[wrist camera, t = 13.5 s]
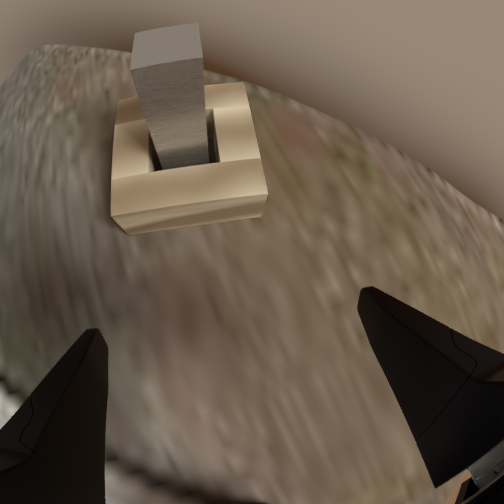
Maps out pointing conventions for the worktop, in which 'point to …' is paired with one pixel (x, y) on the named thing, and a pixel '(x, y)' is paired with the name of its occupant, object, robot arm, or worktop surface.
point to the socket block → (188, 169)
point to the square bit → (172, 93)
